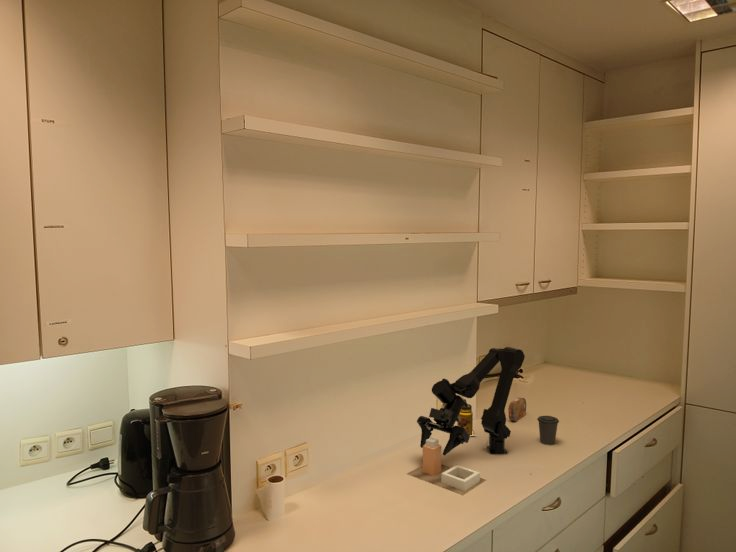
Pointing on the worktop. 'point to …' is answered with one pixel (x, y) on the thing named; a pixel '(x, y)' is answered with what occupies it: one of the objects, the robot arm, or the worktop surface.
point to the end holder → (462, 484)
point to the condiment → (466, 419)
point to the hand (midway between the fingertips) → (432, 451)
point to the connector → (432, 457)
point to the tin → (517, 409)
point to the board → (437, 479)
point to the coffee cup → (547, 429)
